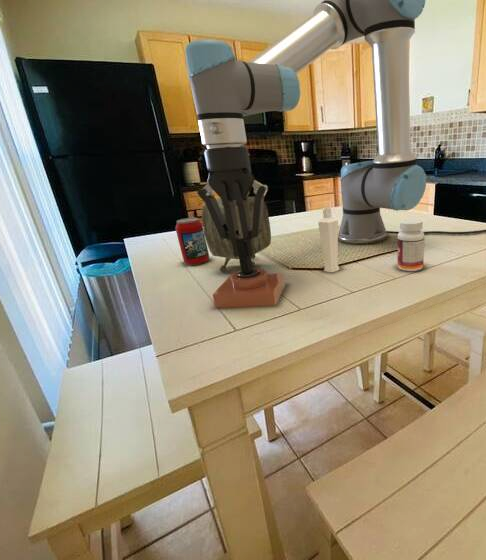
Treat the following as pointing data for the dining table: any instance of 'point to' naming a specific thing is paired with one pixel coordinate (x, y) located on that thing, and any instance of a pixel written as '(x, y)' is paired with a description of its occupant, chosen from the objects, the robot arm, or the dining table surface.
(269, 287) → the brown stepped base
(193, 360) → the dining table surface
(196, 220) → the beverage can
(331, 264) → the perfume bottle
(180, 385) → the dining table surface
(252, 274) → the dark grey short cylinder
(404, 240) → the pill bottle
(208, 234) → the tabletop clock
